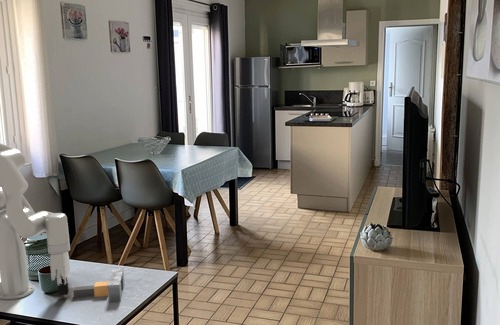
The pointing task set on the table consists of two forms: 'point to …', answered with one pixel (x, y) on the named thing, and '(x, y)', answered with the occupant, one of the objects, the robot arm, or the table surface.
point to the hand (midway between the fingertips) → (64, 293)
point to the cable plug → (92, 290)
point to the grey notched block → (116, 284)
